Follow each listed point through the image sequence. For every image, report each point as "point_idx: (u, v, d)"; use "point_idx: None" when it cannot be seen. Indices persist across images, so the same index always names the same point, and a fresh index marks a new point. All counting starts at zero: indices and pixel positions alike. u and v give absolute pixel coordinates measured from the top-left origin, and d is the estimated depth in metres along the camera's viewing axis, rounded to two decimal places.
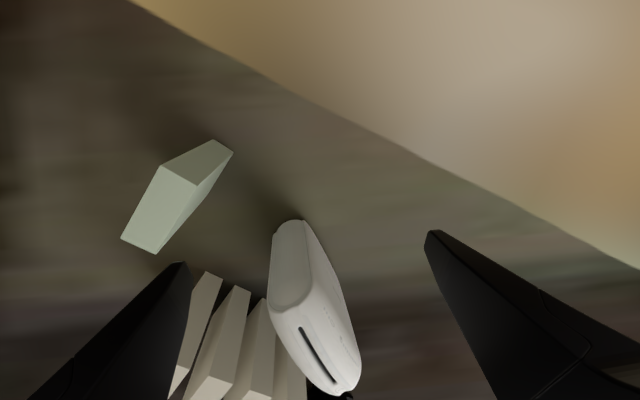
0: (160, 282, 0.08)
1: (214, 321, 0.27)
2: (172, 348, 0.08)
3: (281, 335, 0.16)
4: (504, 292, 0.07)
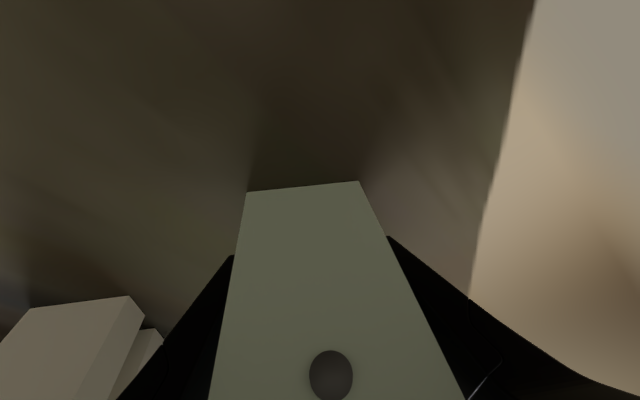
0: (225, 274, 0.08)
1: None
2: None
3: None
4: (433, 302, 0.07)
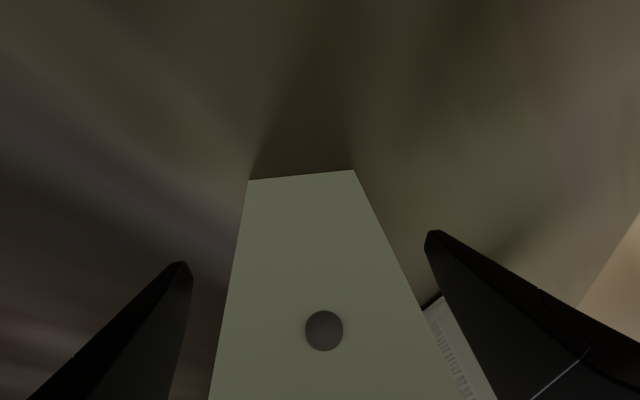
0: (160, 282, 0.08)
1: None
2: (172, 348, 0.08)
3: None
4: (504, 292, 0.07)
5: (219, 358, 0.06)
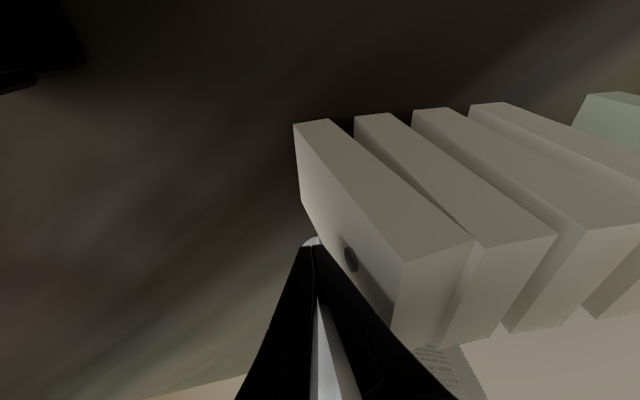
0: (303, 264, 0.08)
1: None
2: (317, 326, 0.08)
3: None
4: (338, 316, 0.06)
5: None
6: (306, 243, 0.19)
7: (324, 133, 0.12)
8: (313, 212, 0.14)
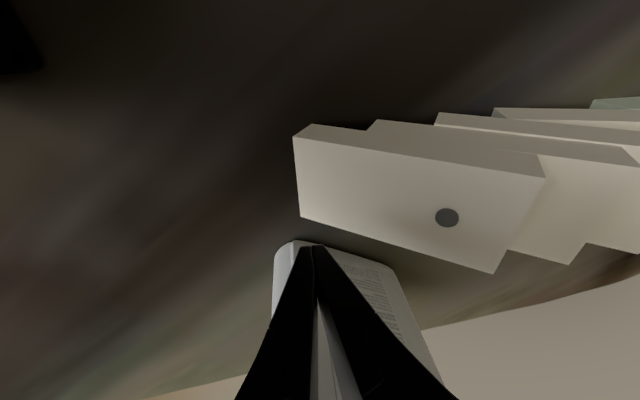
0: (303, 264, 0.08)
1: None
2: (317, 326, 0.08)
3: None
4: (338, 316, 0.06)
5: None
6: (281, 248, 0.19)
7: (339, 134, 0.12)
8: (342, 214, 0.14)
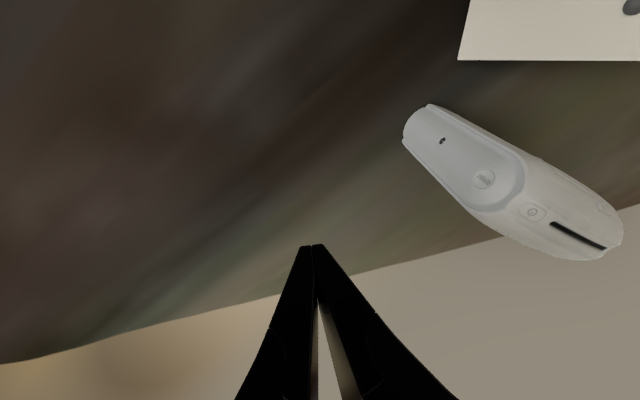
0: (303, 264, 0.08)
1: None
2: (317, 326, 0.08)
3: (621, 226, 0.14)
4: (338, 316, 0.06)
5: None
6: (415, 113, 0.20)
7: None
8: (510, 40, 0.15)
